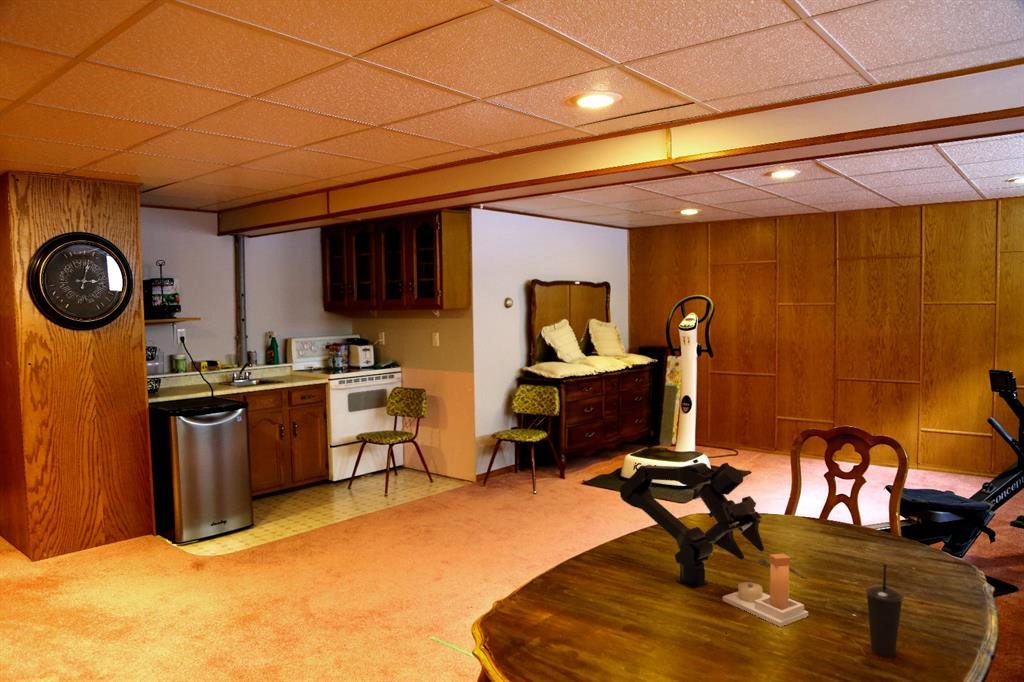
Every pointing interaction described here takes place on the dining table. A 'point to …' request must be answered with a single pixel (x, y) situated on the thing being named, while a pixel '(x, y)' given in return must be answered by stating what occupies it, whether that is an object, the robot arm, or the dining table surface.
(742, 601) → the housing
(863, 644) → the dining table surface
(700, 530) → the robot arm
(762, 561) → the hacksaw
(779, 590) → the orange square-topped peg
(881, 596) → the drinking cup
